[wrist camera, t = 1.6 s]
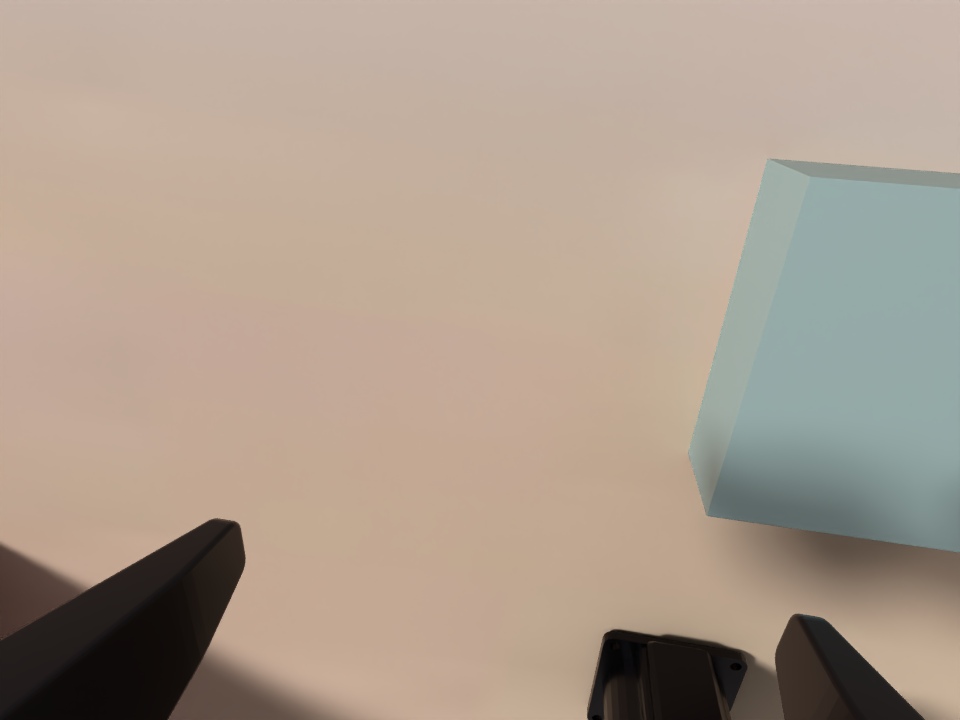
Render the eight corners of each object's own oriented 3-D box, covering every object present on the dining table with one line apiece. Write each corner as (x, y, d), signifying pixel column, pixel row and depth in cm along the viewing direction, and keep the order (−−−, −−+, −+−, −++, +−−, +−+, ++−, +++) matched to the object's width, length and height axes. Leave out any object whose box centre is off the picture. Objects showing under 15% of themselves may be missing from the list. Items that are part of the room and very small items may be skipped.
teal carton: (929, 480, 22) (997, 558, 18) (686, 448, 23) (706, 516, 19) (1082, 181, 17) (1216, 209, 13) (764, 157, 18) (810, 177, 14)
